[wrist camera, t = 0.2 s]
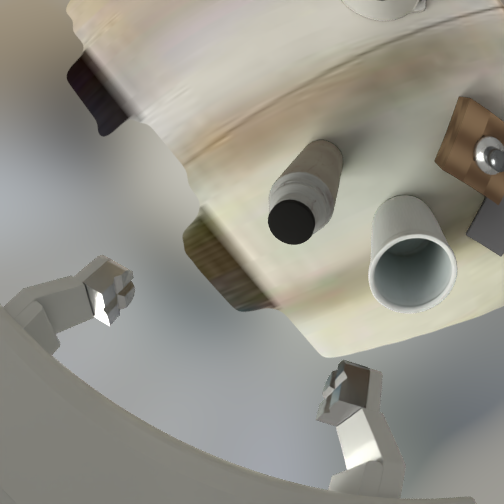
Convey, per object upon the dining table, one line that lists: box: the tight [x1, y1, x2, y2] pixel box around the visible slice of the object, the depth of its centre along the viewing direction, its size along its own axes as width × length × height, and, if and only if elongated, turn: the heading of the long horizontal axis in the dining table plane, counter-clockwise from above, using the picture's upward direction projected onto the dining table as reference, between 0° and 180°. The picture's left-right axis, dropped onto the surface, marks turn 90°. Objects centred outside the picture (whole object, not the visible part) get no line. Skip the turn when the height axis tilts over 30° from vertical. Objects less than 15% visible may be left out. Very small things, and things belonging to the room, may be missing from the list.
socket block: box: [435, 97, 504, 205], centre depth 35 cm, size 14×14×6 cm
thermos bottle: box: [268, 140, 343, 245], centre depth 40 cm, size 8×8×28 cm
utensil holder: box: [368, 195, 457, 313], centre depth 45 cm, size 15×15×18 cm
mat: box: [466, 196, 504, 256], centre depth 42 cm, size 12×12×1 cm
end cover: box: [473, 136, 504, 175], centre depth 33 cm, size 6×6×9 cm
